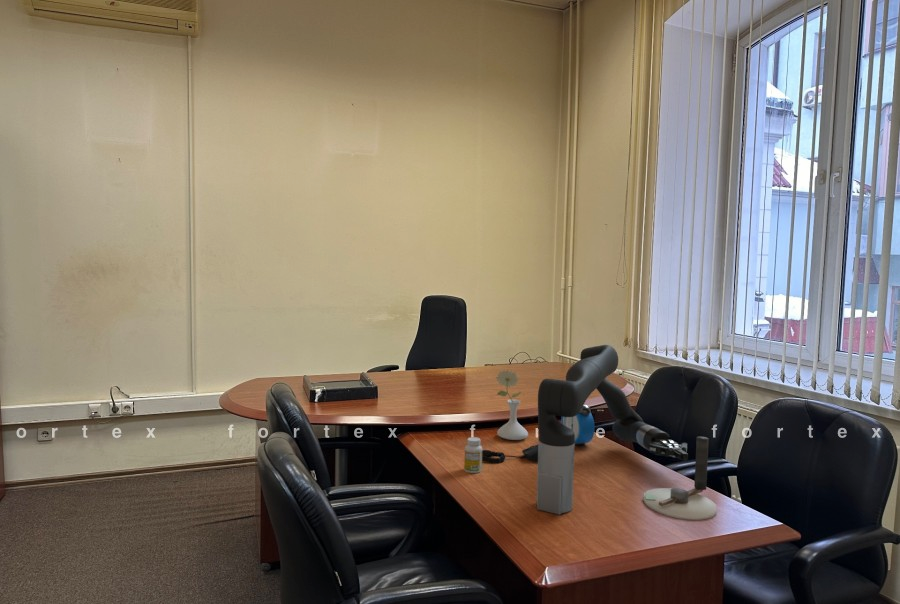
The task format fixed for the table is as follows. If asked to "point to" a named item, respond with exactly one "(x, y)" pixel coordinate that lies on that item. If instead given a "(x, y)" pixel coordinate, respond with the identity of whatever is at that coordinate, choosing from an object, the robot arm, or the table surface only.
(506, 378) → the flower in vase
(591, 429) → the alarm clock
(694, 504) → the plate
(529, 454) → the computer mouse
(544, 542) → the table surface
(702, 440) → the dial
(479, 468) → the supplement bottle
